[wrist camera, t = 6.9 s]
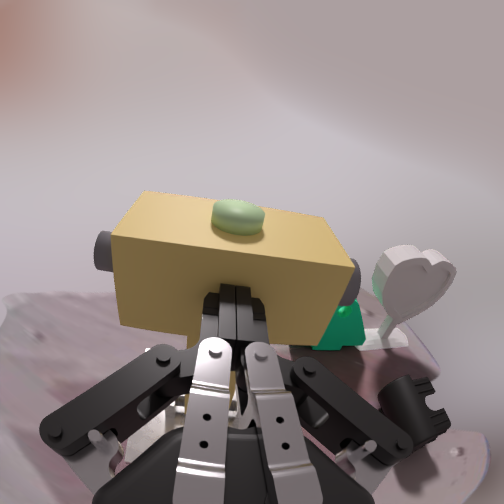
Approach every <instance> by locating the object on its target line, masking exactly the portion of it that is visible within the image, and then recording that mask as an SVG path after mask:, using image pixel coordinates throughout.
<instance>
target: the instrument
mask: <svg viewBox="0 0 504 504" xmlns="http://www.w3.org/2000/svg"><path fill="white" fill-rule="evenodd" d="M94 264H95V267H96V268H97V269H98V270H103V271H109V272H113V273H114V282H115V289H116V290H115V291H116V299H117V306H118V312H119V319H120V325H123V326H128V327H134V328H140V329H145V330H151V331H158V332H164V333H171V334H178V335H185V336H187V349H189V348H191V347H193V346H195V345H196V344H197V343H198V341H199V338H200V328H201V318H202V310H203V302H204V298H205V296H206V295H207V294H208V293H209V292H212V293H219V288H220V283H223V284H230V285H235V286H236V285H238V286H246V287H250V288H251V297H253V298H260V300H261V301H262V303H263V304H264V307H265V315H266V321H267V329H268V337H269V344H285V345H312V346H317V345H318V343H319V342H320V340H321V338H322V336H323V334H324V332H325V330H326V328H327V326H328V324H329V322H330V320H331V318H332V316H333V314H334V312H335V310H336V308H337V306H350V305H351V304H352V303H353V302H354V301H355V299H356V298H357V295H358V293H359V289H360V283H361V273H360V268H359V265H358V263H357V262H356V260H354V259H351V258H349V256H348V255H347V253H346V252H345V250H344V249H343V247H342V246H341V244H340V242H339V241H338V239H337V238H336V236H335V235H334V233H333V231H332V230H331V228H330V227H329V225H328V224H327V222H326V221H325V219H324V218H322V217H316V216H311V215H306V214H301V213H295V212H289V211H284V210H278V209H272V208H265V207H260V206H256V205H254V204H252V203H249V202H245V201H241V200H233V199H226V200H214V199H207V198H199V197H191V196H183V195H176V194H168V193H160V192H151V191H144V192H143V193H142V194H141V196H140V197H139V198H138V199H137V200H136V202H135V203H134V204H133V205H132V207H131V208H130V209H129V211H128V212H127V213H126V214H125V216H124V217H123V218H122V220H121V221H120V222H119V224H118V225H117V226H116V228H115V229H114V231H113V232H107V231H102V232H100V234H99V235H98V237H97V240H96V243H95V247H94ZM235 382H236V380H235V371H230V381H229V391H230V401H229V408H230V405H231V402H232V399H233V396H234V393H235ZM188 400H189V394H186V395H185V414H186V411H187V406H188Z"/></svg>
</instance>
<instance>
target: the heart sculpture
mask: <svg viewBox="0 0 504 504" xmlns="http://www.w3.org/2000/svg"><path fill="white" fill-rule="evenodd" d="M455 275H456V268H455V267H454V266H453V265H452V264H451V263H450V262H449V261H448V260H447V259H446V258H445V257H444V256H443V255H442V254H441V253H440V252H438V251H436V250H434V249H429V250H426V251H423V252H420V251H419V250H418V249H417V248H416V247H415V246H413V245H400V246H396V247H391V248H389V249H388V250H386V251H384V252H383V254H382V255H381V257H380V259H379V260H378V262H377V263H376V267H375V270H374V273H373V276H372V284H373V291H374V293H375V295H376V296H377V298H378V300H379V301H380V303H381V304H382V306H383V307H384V309H385V310H386V312H387V314H388V315H387V317H386V318H385V320H384V322H383V323H382V325H381V327H380V328H379V329H364V331H365V336H366V340H365V342H364V343H363V345H362V346H355V347H356V348H357V349H358V350H359V351H362V350H375V349H386V348H396V347H405V346H408V339H407V337H406V335H405V334H404V333H403V332H402V331H401V330H399V329H398V328H395V326H396V325H397V324H400V323H402V322H404V321H406V320H408V319H410V318H412V317H414V316H416V315H418V314H420V313H421V312H423V311H425V310H426V309H428V308H429V307H431V306H432V305H433V304H434V303H435V302H437V301H438V300H439V299H440V298H441V297H442V296H443V295H444V294H445V292H446V291H447V289H448V288H449V286H450V285H451V284H452V282H453V280H454V277H455Z"/></svg>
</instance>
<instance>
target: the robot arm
mask: <svg viewBox="0 0 504 504" xmlns="http://www.w3.org/2000/svg"><path fill="white" fill-rule="evenodd" d="M230 371H235V380H236V382H235V390H236V398H237V406H238V414H239V426H238V429H236V428H232V427H229V426H228V415H229V401H230V391H229V381H230ZM186 394H189V400H188V406H187V411H186V417H185V423H184V426H183V427H179V428H176V429H173V430H171V431H169V432H167V433H165V434H164V435H162V436H161V437H160V438H159V439H158V440H157V441H155V442H154V443H153V444H152V445H151V446H150V447H149V448H148V449H146V450H145V451H144V452H143V453H142V454H141V455H140V456H138V457H137V458H136V459H135V460H134V461H133V462H131V463H130V464H129V465H128V466H127V467H125V468H124V469H123V470H122V471H121V472H119V473H118V474H117V475H116V476H115V469H116V467H117V465H118V464H119V463H120V462H121V460H122V459H123V455H124V451H123V447H122V445H121V443H122V442H123V441H125V440H126V439H127V438H129V437H130V436H131V435H133V434H134V433H135V432H137V431H138V430H139V429H140V428H142V427H143V426H144V425H146V424H147V423H148V422H149V421H151V420H152V419H153V418H154V417H156V416H157V415H158V414H159V413H161V412H162V411H163V410H164V409H166V408H167V407H168V406H169V405H170V404H172V403H173V402H174V401H175V400H177V399H178V397H179V396H180V395H186ZM301 426H302V427H303V428H304V429H305V430H307V431H308V432H309V433H310V434H311V435H312V436H313V437H314V438H316V439H317V440H318V441H319V442H320V443H321V444H322V445H324V446H325V447H326V448H327V449H328V450H329V451H331V452H332V453H333V454H334V455H335V456H336V458H335V462H336V463H334V462H333V461H332V460H331V459H330V458H329V457H328V456H327V455H326V454H324V453H323V452H322V451H321V450H320V449H319V448H318V447H317V446H316V445H315V444H314V443H313V442H311V441H310V440H309V439H308V438H306V437H305V436H303V433H302V429H301ZM39 432H40V436H41V438H42V440H43V441H44V442H45V444H47V445H48V446H49V447H50V448H51V449H53V450H54V451H55V452H56V453H58V454H59V455H60V456H61V457H63V458H64V459H65V461H66V462H67V463H68V465H69V466H70V467H71V469H72V470H73V471H74V472H75V474H76V475H77V476H78V477H79V478H80V480H81V481H82V482H83V483H84V484H85V485H86V487H87V488H88V489H89V490H90V491H91V492H92V493H93V494H94V497H93V500H92V504H375V502H374V499H373V497H372V494H373V492H374V491H375V490H376V488H377V487H378V486H379V484H380V483H381V482H382V480H383V479H384V478H385V476H386V475H387V473H388V472H389V471H390V469H391V468H392V466H394V465H396V464H397V463H398V462H400V461H401V460H403V459H405V458H406V457H408V456H409V455H410V454H411V453H412V450H413V441H412V438H411V437H410V436H409V435H408V434H407V433H406V432H405V431H403V430H402V429H401V428H400V427H398V426H397V425H396V424H394V423H393V422H392V421H391V420H389V419H388V418H387V417H385V416H384V415H383V414H382V413H380V412H379V411H378V410H377V409H375V408H374V407H373V406H372V405H370V404H369V403H368V402H367V401H365V400H364V399H363V398H362V397H361V396H359V395H358V394H357V393H356V392H354V391H353V390H352V389H351V388H350V387H348V386H347V385H346V384H345V383H344V382H342V381H341V380H340V379H339V378H338V377H336V376H335V375H334V374H333V373H332V372H330V371H329V370H328V369H327V368H326V367H324V366H323V365H322V364H321V363H320V362H319V361H317V360H316V359H314V358H312V357H300V358H298V359H297V360H296V361H295V362H294V361H290V360H287V359H284V358H282V357H280V356H278V355H277V354H276V351H275V350H274V348H273V347H272V346H270V344H269V337H268V329H267V321H266V315H265V307H264V304H263V303H262V301H261V300H260V298H253V297H251V288H250V287H246V286H238V285H236V286H235V285H230V284H223V283H220V288H219V293H212V292H209V293H208V294H207V295H206V296H205V298H204V302H203V310H202V318H201V328H200V338H199V341H198V343H197V344H196V345H195V346H193V347H191V348H189V349H185V350H177V349H175V348H174V347H172V346H170V345H166V344H160V345H156V346H154V347H152V348H151V349H149V350H148V351H146V352H145V353H143V354H142V355H140V356H139V357H137V358H136V359H134V360H133V361H131V362H130V363H128V364H127V365H125V366H124V367H122V368H121V369H119V370H118V371H116V372H115V373H113V374H112V375H110V376H109V377H107V378H106V379H104V380H102V381H101V382H99V383H98V384H96V385H95V386H93V387H92V388H90V389H89V390H87V391H86V392H84V393H82V394H81V395H79V396H78V397H76V398H75V399H73V400H72V401H70V402H68V403H67V404H65V405H64V406H62V407H61V408H59V409H57V410H56V411H54V412H53V413H51V414H50V415H48V416H46V417H45V418H44V419H43V420H42V422H41V424H40V427H39Z"/></svg>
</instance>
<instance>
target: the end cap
mask: <svg viewBox="0 0 504 504" xmlns="http://www.w3.org/2000/svg"><path fill="white" fill-rule="evenodd" d="M434 392H435V390H434V388H433V386H432V384H431V382H430V380H429V379H428V378H427V377H425V378H420V379H416V380H412V379H411V377H410V376H409V375H405V376H403V377H400V378H398V379H396V380H394V381H392V382H391V383H389V384H388V385H386V386H385V387H384V388H383V389H382V390H381V391H380V392H379V394H378V400H379V403H380V405H381V408H382V410H383V413H384V415H385V417H387V418H388V419H389V420H391V421H392V422H393V423H394V424H396V425H397V426H398V427H400V428H401V429H402V430H403V431H405V432H406V433H407V434H408V435H409V436H410V437H411V438H412V441H413V450H412V453H413V452H414V451H416V450H417V449H419V448H421V447H423V446H425V445H426V444H428V443H430V442H432V441H434V440H436V438H437V437H438V436H439V435H441V434H443V433H445V432H446V431H447V429H449V428H450V426H451V422H450V420H449V418H448V416H447V414H446V411H445V410H444V408H443V409H440V410H437V411H433V410H431V409H429V408H428V407H427V405H426V403H425V397H426V396H428V395H431V394H434Z"/></svg>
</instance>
